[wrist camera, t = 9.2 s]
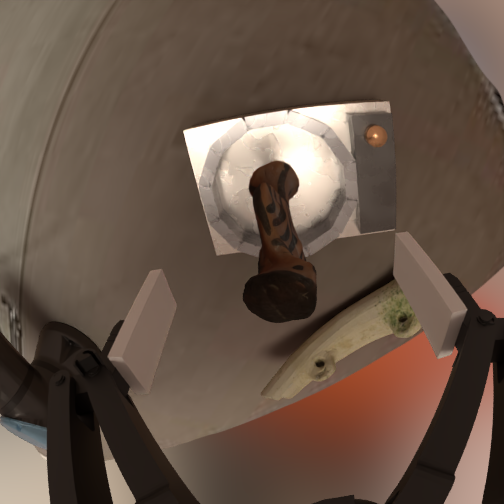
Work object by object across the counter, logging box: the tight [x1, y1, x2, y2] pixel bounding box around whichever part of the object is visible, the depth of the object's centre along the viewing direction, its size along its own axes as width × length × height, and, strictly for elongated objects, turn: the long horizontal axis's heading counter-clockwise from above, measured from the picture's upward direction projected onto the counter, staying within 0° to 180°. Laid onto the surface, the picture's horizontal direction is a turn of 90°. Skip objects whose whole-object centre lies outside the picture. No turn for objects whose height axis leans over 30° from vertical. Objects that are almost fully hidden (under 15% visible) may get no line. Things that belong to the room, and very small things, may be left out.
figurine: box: [243, 160, 317, 323], centre depth 22 cm, size 7×5×18 cm
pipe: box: [261, 279, 421, 400], centre depth 39 cm, size 28×8×10 cm, turn 135°
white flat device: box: [183, 99, 396, 257], centre depth 30 cm, size 20×14×6 cm
